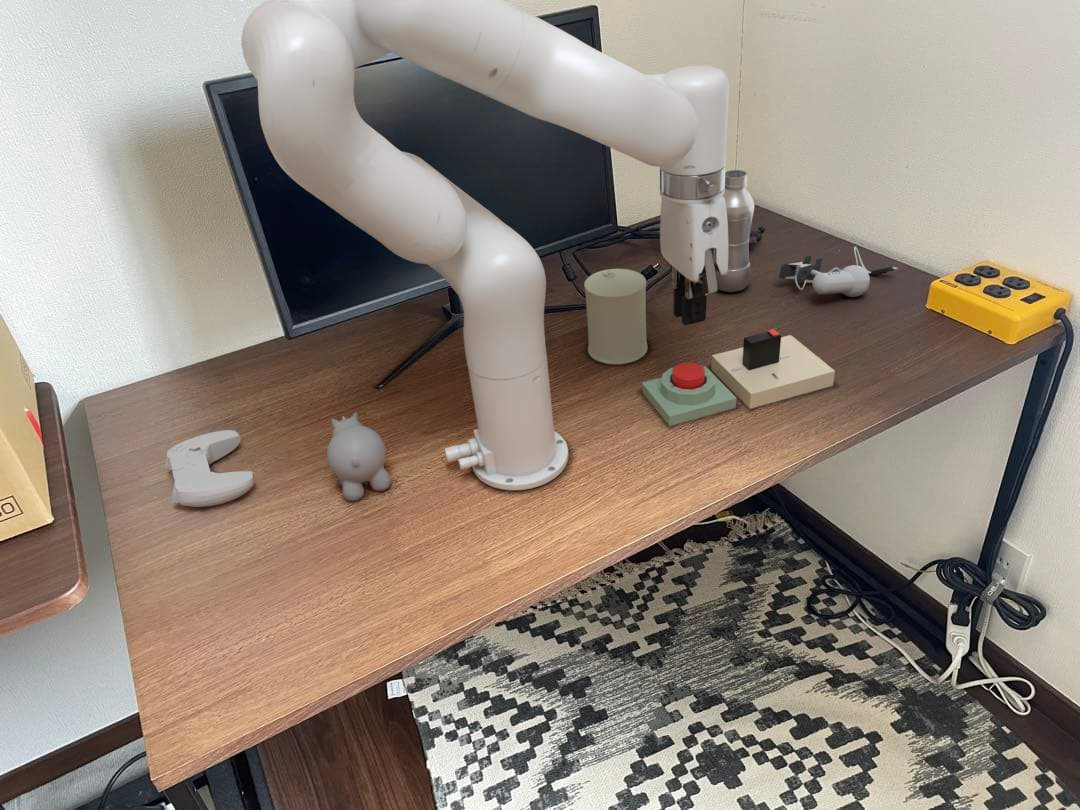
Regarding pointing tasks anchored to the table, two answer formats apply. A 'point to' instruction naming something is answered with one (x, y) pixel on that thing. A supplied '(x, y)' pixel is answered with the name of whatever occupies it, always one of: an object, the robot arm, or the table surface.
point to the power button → (688, 376)
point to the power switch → (687, 398)
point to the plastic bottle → (737, 232)
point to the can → (616, 316)
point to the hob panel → (774, 374)
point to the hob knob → (761, 349)
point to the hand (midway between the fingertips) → (689, 317)
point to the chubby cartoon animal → (357, 457)
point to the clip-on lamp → (831, 276)
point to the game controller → (206, 470)
